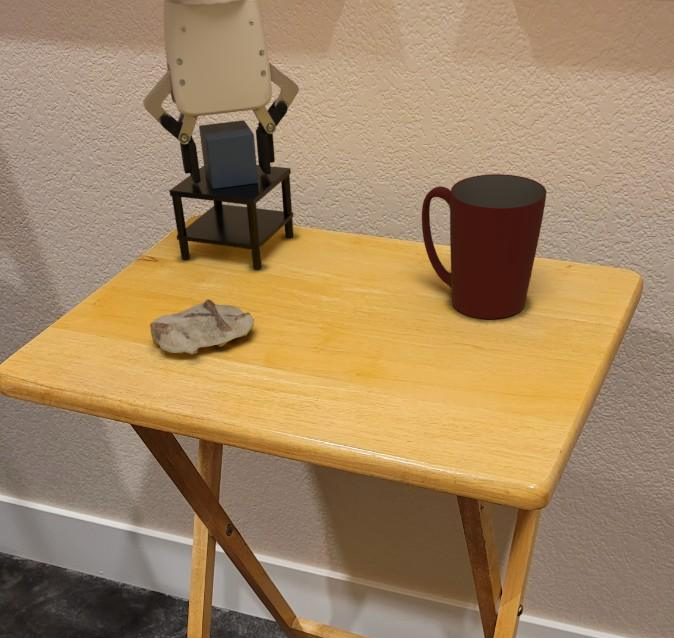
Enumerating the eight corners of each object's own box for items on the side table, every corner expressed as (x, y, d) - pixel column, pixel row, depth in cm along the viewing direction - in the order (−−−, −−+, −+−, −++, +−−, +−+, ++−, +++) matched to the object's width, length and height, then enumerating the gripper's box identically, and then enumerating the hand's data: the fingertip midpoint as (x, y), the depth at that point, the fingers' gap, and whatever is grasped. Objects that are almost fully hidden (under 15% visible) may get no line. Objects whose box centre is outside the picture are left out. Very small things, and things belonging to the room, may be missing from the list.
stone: (231, 312, 90) (227, 287, 88) (264, 340, 86) (261, 314, 84) (144, 338, 87) (139, 313, 85) (174, 369, 82) (169, 343, 80)
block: (213, 189, 95) (206, 139, 91) (205, 174, 98) (198, 125, 95) (258, 183, 96) (253, 133, 92) (248, 168, 99) (244, 119, 96)
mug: (402, 306, 90) (404, 194, 82) (437, 272, 96) (443, 165, 88) (513, 330, 86) (527, 214, 78) (544, 293, 91) (559, 181, 84)
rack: (259, 270, 97) (253, 199, 92) (180, 259, 100) (169, 190, 95) (294, 236, 104) (290, 168, 99) (219, 226, 107) (211, 160, 101)
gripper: (288, -35, 88) (298, 154, 101) (113, -20, 85) (147, 173, 98) (306, -22, 83) (315, 176, 95) (121, -6, 80) (155, 197, 92)
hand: (230, 173), depth 96 cm, fingers open, 7 cm apart
